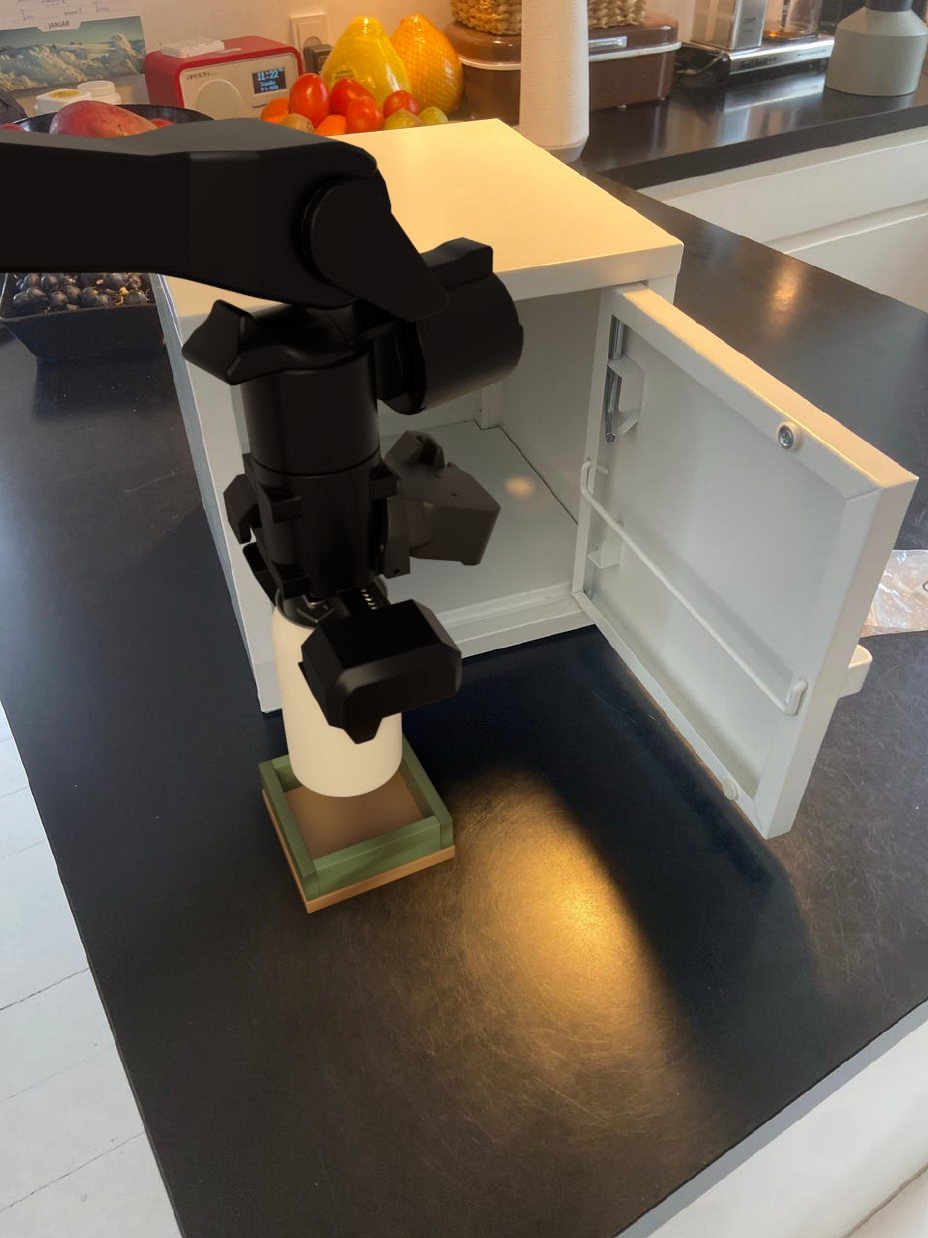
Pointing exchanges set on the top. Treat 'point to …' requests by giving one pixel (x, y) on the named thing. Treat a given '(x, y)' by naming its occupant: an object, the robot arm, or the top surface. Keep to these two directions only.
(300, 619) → the can
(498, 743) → the top surface
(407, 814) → the tray
